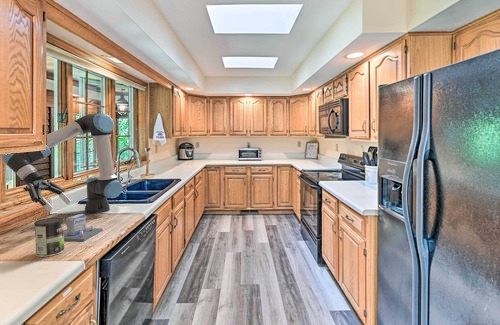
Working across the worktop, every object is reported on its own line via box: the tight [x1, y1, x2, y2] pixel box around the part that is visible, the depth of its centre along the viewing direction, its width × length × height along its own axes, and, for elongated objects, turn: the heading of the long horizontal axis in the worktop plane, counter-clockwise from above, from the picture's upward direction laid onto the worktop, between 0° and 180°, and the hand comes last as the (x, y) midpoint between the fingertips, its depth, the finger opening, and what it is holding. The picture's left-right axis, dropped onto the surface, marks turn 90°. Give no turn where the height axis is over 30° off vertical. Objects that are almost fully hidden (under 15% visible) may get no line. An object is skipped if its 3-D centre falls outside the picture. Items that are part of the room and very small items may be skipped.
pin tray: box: [63, 225, 104, 242], centre depth 148 cm, size 16×18×4 cm
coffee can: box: [33, 217, 65, 258], centre depth 125 cm, size 10×10×14 cm
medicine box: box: [65, 213, 87, 235], centre depth 148 cm, size 8×4×9 cm, turn 169°
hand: (60, 206), depth 146 cm, fingers open, 13 cm apart
